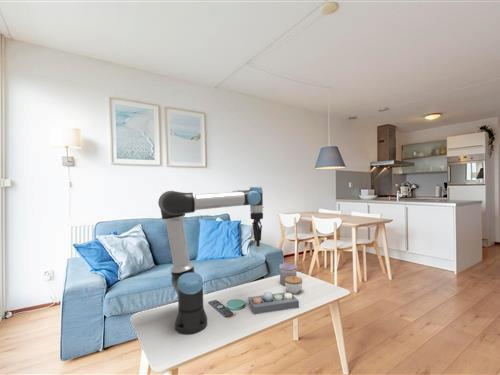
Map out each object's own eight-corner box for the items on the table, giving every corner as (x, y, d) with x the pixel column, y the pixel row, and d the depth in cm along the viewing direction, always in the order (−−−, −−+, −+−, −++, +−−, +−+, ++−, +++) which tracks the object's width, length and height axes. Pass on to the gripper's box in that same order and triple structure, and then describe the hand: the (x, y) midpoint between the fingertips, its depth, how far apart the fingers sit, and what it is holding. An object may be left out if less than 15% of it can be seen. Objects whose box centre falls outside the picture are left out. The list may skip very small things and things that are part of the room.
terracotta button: (254, 307, 135) (254, 301, 135) (252, 304, 139) (252, 297, 139) (262, 306, 136) (262, 300, 136) (260, 303, 140) (260, 296, 140)
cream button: (286, 303, 139) (286, 296, 139) (283, 299, 143) (283, 293, 143) (293, 302, 140) (293, 295, 140) (290, 298, 144) (290, 292, 144)
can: (300, 283, 169) (300, 265, 169) (289, 288, 162) (289, 269, 161) (287, 278, 178) (286, 261, 178) (276, 283, 170) (275, 265, 170)
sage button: (275, 304, 138) (275, 298, 138) (273, 301, 142) (273, 294, 142) (283, 303, 139) (283, 297, 139) (280, 300, 143) (280, 293, 143)
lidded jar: (301, 288, 161) (301, 273, 161) (303, 295, 151) (303, 280, 151) (284, 287, 162) (284, 273, 162) (285, 295, 152) (284, 279, 152)
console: (254, 314, 131) (254, 307, 131) (248, 303, 142) (248, 297, 142) (298, 307, 137) (298, 300, 137) (289, 297, 148) (289, 291, 148)
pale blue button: (265, 302, 136) (265, 296, 136) (262, 299, 140) (262, 292, 140) (273, 301, 137) (272, 295, 137) (270, 297, 141) (270, 291, 141)
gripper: (266, 213, 147) (266, 253, 147) (259, 210, 160) (260, 248, 160) (253, 213, 145) (254, 254, 145) (248, 211, 158) (248, 249, 158)
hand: (257, 251), depth 153 cm, fingers closed
